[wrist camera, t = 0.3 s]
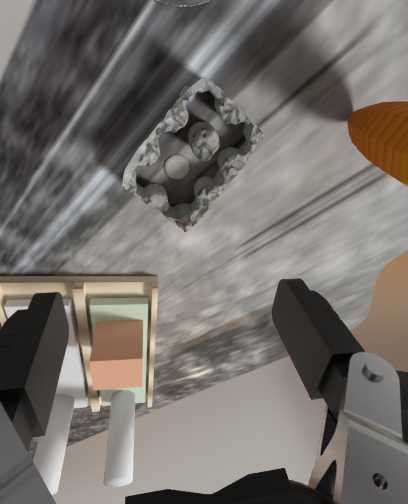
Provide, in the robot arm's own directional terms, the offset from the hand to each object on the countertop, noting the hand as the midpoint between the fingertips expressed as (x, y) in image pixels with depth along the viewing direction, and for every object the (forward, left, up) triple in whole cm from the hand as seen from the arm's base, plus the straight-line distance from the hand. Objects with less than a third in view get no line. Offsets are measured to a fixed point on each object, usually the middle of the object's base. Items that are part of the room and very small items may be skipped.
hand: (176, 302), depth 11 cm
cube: (+21, -4, -16) cm, 26 cm away
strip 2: (+26, -4, -17) cm, 31 cm away
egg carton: (0, +2, -18) cm, 19 cm away
